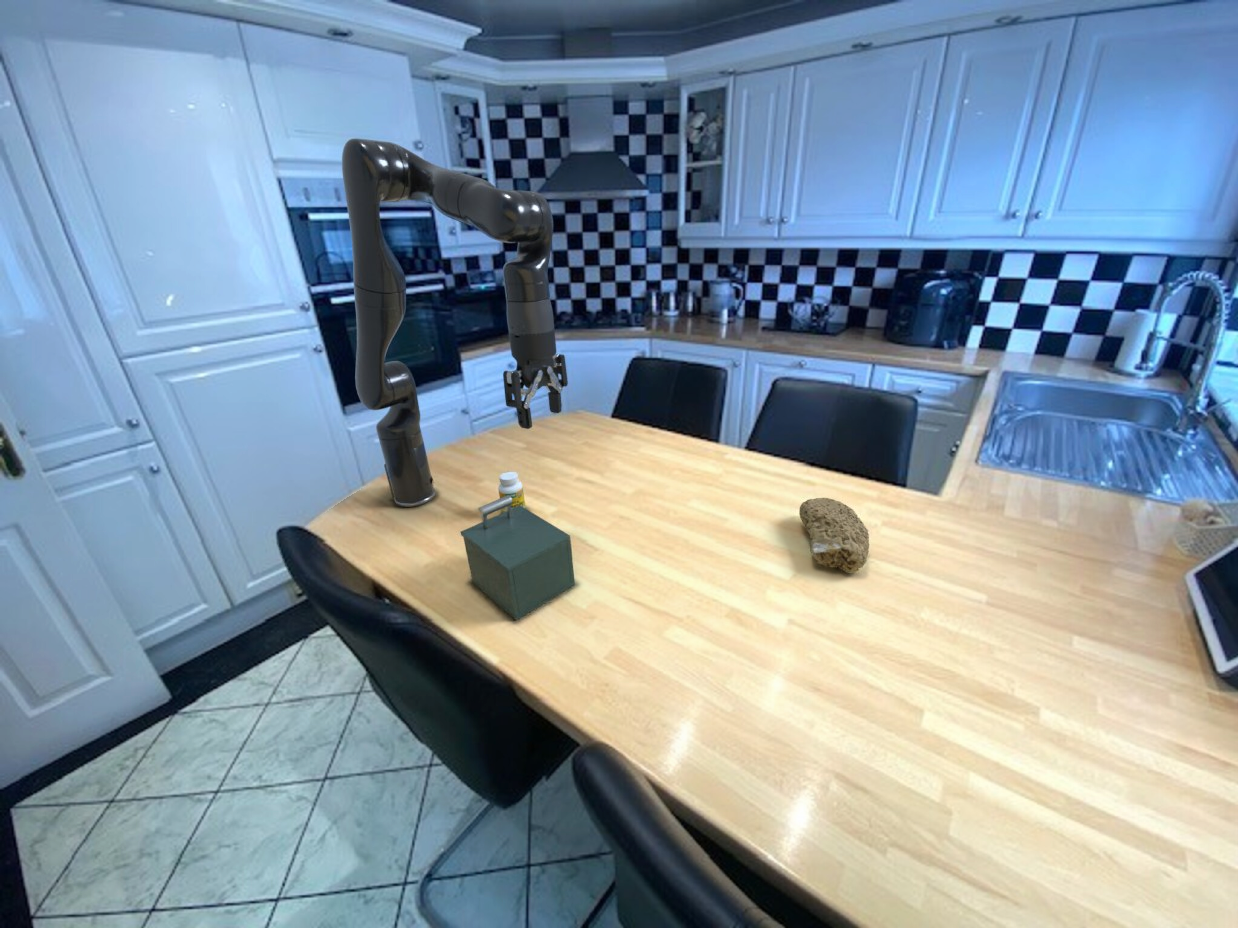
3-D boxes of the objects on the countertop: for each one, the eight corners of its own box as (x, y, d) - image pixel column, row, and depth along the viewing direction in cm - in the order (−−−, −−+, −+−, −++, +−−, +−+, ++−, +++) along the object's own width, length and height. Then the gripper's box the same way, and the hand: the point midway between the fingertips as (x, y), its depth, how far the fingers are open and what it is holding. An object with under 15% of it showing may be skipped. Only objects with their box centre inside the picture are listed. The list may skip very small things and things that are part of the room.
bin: (472, 581, 93) (463, 537, 89) (529, 552, 101) (523, 510, 97) (516, 620, 84) (507, 572, 79) (575, 584, 91) (570, 539, 87)
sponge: (870, 584, 90) (870, 510, 104) (868, 552, 86) (868, 480, 100) (792, 578, 96) (803, 509, 110) (788, 548, 92) (799, 481, 106)
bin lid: (460, 535, 90) (455, 510, 87) (520, 508, 97) (517, 484, 95) (507, 572, 79) (503, 544, 77) (570, 539, 87) (568, 513, 85)
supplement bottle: (520, 504, 119) (515, 467, 115) (530, 514, 115) (525, 476, 111) (498, 511, 116) (492, 474, 112) (507, 521, 112) (501, 483, 108)
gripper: (540, 319, 91) (548, 405, 98) (484, 334, 80) (498, 430, 87) (574, 321, 87) (581, 410, 94) (520, 337, 76) (532, 437, 83)
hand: (541, 419), depth 90 cm, fingers open, 8 cm apart
